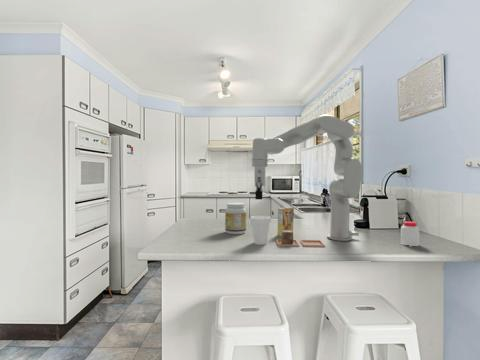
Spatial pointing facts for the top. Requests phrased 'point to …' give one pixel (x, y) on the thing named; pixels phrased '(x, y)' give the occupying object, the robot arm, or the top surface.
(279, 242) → the dish middle
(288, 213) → the candy box
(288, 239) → the letter block
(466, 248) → the top surface
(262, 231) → the cup
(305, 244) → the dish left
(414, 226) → the pill bottle
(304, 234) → the top surface
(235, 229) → the supplement tub
